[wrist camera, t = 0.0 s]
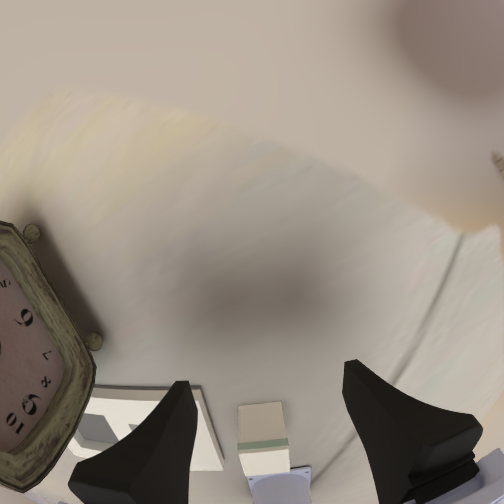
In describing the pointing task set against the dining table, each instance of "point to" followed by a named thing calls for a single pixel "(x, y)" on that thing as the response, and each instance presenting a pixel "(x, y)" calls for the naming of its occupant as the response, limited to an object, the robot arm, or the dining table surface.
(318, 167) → the dining table surface
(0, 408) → the tabletop clock
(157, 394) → the power strip
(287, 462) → the block
